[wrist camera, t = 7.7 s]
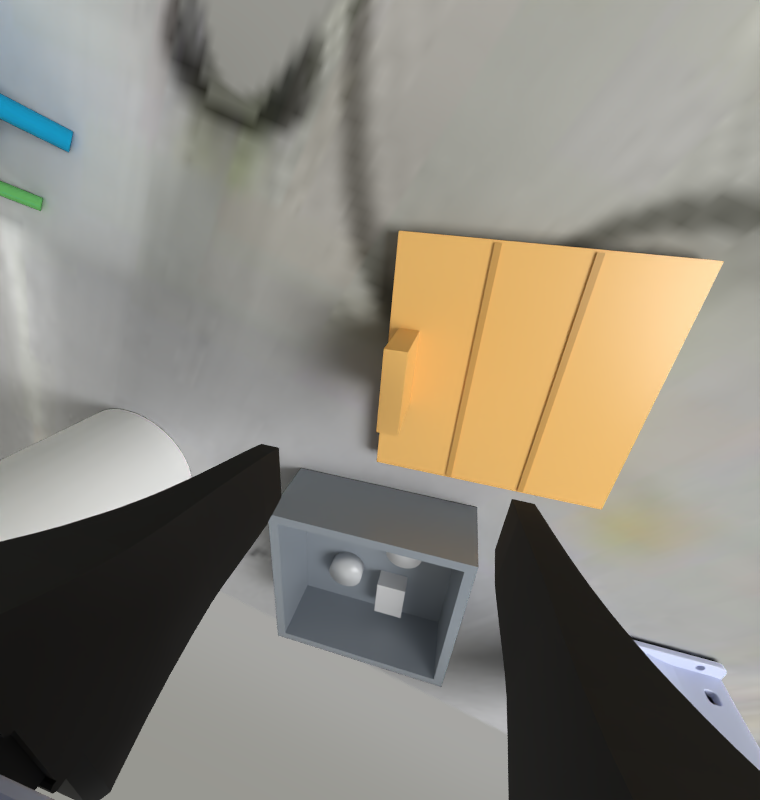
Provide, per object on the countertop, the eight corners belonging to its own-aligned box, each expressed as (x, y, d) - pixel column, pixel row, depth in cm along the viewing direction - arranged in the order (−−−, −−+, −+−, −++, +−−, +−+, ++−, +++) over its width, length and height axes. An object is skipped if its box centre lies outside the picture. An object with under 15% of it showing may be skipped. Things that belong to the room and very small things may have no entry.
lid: (700, 258, 14) (800, 270, 10) (593, 491, 20) (626, 563, 16) (404, 230, 17) (380, 230, 12) (382, 448, 22) (360, 500, 18)
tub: (477, 507, 22) (478, 567, 18) (445, 621, 27) (441, 686, 24) (301, 468, 24) (267, 513, 20) (304, 581, 30) (278, 635, 26)
